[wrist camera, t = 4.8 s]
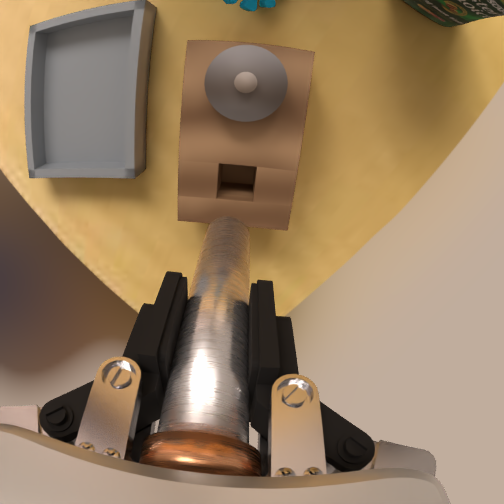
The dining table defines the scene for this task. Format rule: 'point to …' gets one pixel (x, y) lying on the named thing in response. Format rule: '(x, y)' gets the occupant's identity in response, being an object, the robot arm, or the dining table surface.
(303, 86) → the tensioner block
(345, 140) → the dining table surface
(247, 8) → the gear
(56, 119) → the tray
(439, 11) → the coffee jar
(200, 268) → the pin
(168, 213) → the dining table surface
